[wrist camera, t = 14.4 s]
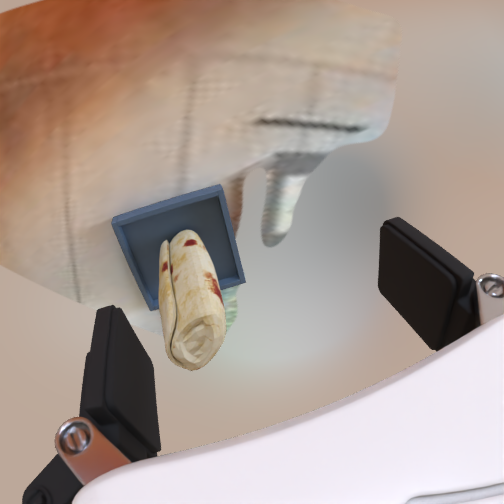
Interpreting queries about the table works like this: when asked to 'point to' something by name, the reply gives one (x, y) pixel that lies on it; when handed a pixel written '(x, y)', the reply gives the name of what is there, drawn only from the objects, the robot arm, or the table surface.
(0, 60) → the table surface
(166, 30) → the table surface
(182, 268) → the food model
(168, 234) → the serving tray
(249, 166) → the table surface
